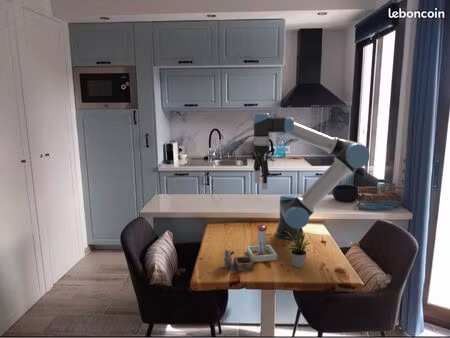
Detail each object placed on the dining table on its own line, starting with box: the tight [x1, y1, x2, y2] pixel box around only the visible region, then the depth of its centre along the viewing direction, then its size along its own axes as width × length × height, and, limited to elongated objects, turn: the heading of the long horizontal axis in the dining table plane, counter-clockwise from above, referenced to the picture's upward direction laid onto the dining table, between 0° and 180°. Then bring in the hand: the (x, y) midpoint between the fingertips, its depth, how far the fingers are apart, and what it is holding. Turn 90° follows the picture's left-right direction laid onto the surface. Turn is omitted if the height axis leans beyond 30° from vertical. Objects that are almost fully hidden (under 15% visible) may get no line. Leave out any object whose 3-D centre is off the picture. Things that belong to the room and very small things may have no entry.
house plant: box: [284, 229, 312, 268], centre depth 155 cm, size 14×14×16 cm
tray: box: [246, 244, 278, 263], centre depth 162 cm, size 12×12×4 cm
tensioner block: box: [223, 249, 256, 274], centre depth 150 cm, size 13×10×10 cm
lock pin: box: [256, 224, 268, 256], centre depth 161 cm, size 5×5×15 cm
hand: (260, 186), depth 172 cm, fingers open, 13 cm apart
